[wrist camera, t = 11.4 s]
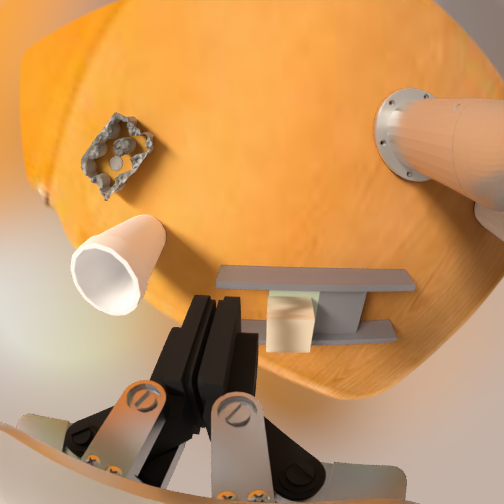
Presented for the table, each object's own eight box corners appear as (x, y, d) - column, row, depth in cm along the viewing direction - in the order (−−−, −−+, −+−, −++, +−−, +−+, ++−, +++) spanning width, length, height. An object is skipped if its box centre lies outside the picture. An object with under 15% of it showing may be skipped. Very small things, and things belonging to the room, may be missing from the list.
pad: (317, 273, 40) (320, 285, 38) (311, 321, 44) (312, 333, 42) (269, 272, 41) (269, 283, 38) (268, 320, 45) (267, 333, 42)
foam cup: (163, 273, 42) (129, 328, 31) (113, 245, 41) (67, 290, 29) (186, 222, 38) (150, 270, 27) (130, 192, 37) (77, 227, 25)
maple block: (310, 296, 38) (314, 319, 34) (306, 328, 41) (309, 352, 37) (267, 296, 39) (266, 319, 34) (267, 328, 42) (266, 351, 37)
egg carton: (118, 196, 37) (104, 205, 34) (88, 162, 35) (72, 168, 32) (164, 144, 34) (152, 147, 30) (130, 107, 31) (114, 107, 28)
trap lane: (404, 269, 39) (416, 285, 35) (387, 324, 44) (395, 341, 40) (221, 265, 41) (215, 281, 37) (225, 323, 46) (221, 341, 42)
